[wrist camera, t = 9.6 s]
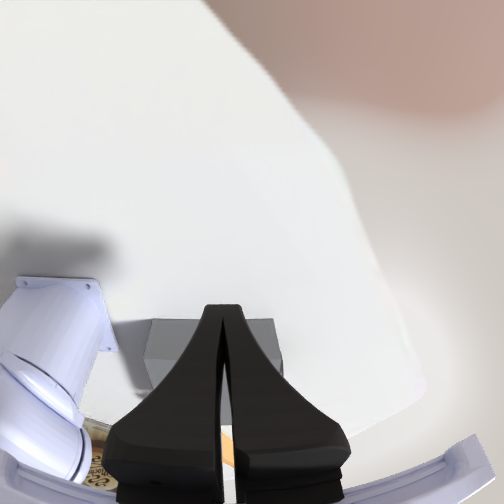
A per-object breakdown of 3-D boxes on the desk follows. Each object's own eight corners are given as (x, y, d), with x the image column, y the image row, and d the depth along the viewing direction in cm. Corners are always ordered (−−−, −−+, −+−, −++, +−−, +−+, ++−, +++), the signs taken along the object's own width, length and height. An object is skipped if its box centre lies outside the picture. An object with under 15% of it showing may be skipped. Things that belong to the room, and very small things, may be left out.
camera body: (170, 388, 28) (165, 426, 23) (153, 318, 23) (141, 362, 19) (270, 387, 29) (276, 426, 24) (280, 318, 24) (290, 362, 20)
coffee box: (139, 432, 33) (128, 532, 19) (137, 446, 35) (129, 534, 21) (79, 414, 31) (56, 510, 17) (84, 431, 33) (66, 515, 19)
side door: (165, 394, 28) (162, 423, 24) (173, 392, 27) (170, 422, 24) (234, 447, 35) (235, 469, 32) (240, 445, 35) (242, 468, 32)
